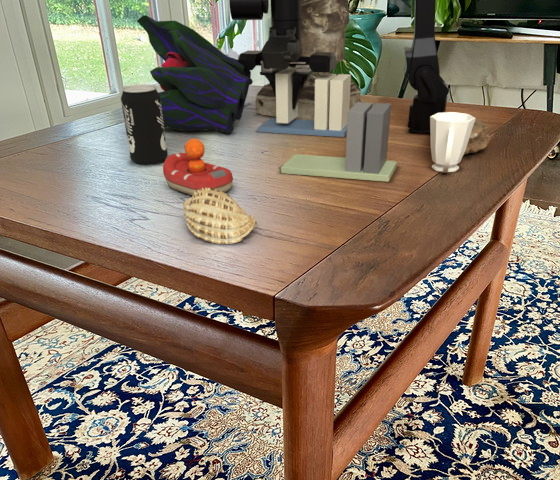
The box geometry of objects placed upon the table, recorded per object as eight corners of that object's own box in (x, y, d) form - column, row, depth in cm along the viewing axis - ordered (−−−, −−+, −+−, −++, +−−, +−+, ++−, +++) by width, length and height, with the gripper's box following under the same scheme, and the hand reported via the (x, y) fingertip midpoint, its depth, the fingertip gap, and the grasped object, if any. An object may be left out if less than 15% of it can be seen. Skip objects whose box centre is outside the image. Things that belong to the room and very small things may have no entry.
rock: (489, 162, 99) (495, 131, 96) (425, 159, 102) (429, 128, 99) (486, 141, 110) (491, 113, 107) (428, 139, 112) (431, 111, 109)
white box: (298, 115, 122) (298, 68, 117) (288, 123, 117) (287, 73, 112) (286, 115, 123) (286, 67, 118) (276, 122, 117) (275, 73, 112)
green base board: (396, 167, 98) (402, 103, 92) (388, 182, 92) (394, 114, 86) (294, 159, 103) (294, 98, 97) (280, 173, 97) (279, 108, 91)
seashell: (248, 241, 81) (181, 210, 80) (265, 203, 78) (196, 170, 76) (240, 265, 75) (167, 232, 73) (258, 225, 72) (182, 189, 70)
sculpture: (254, 114, 132) (247, -49, 114) (294, 101, 143) (294, -50, 125) (323, 124, 123) (328, -51, 106) (361, 109, 134) (371, -51, 117)
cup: (466, 163, 99) (475, 112, 94) (467, 181, 91) (476, 127, 87) (424, 161, 101) (430, 111, 96) (422, 179, 93) (428, 125, 88)
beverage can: (160, 167, 101) (150, 91, 94) (125, 165, 102) (112, 90, 95) (173, 156, 106) (164, 84, 99) (139, 154, 107) (128, 83, 100)
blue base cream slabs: (352, 127, 121) (355, 74, 115) (343, 137, 114) (346, 81, 109) (270, 122, 125) (269, 71, 119) (258, 131, 119) (256, 78, 113)
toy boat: (193, 176, 96) (187, 127, 92) (241, 191, 90) (238, 139, 85) (156, 187, 92) (148, 137, 87) (204, 204, 85) (199, 151, 81)
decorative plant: (221, 185, 121) (89, 138, 123) (265, 108, 132) (144, 66, 134) (223, 99, 102) (68, 45, 104) (274, 19, 114) (133, -29, 116)
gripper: (224, 23, 106) (230, 115, 115) (323, 24, 101) (321, 120, 110) (245, 17, 114) (249, 103, 123) (338, 18, 109) (335, 107, 119)
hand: (287, 108), depth 119 cm, fingers closed on white box, 2 cm apart
